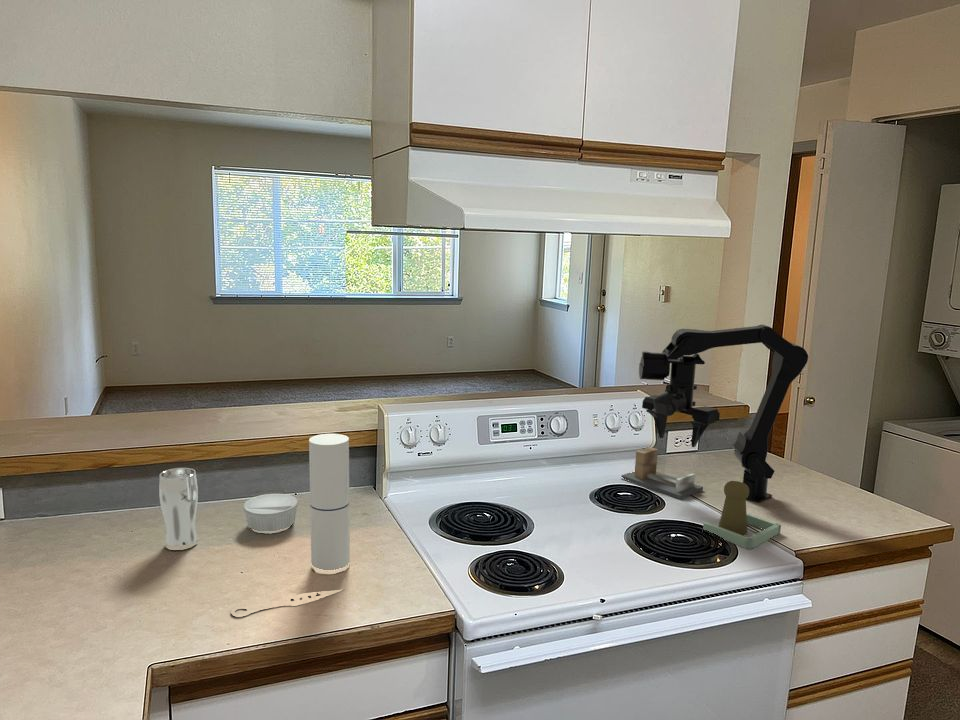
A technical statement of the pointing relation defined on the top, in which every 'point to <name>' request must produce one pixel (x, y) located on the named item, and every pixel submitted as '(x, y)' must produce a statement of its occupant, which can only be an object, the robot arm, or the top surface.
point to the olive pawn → (735, 507)
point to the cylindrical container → (329, 501)
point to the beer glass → (179, 505)
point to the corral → (744, 541)
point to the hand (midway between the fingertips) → (677, 442)
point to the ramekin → (270, 512)
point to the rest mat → (663, 485)
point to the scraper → (647, 469)
